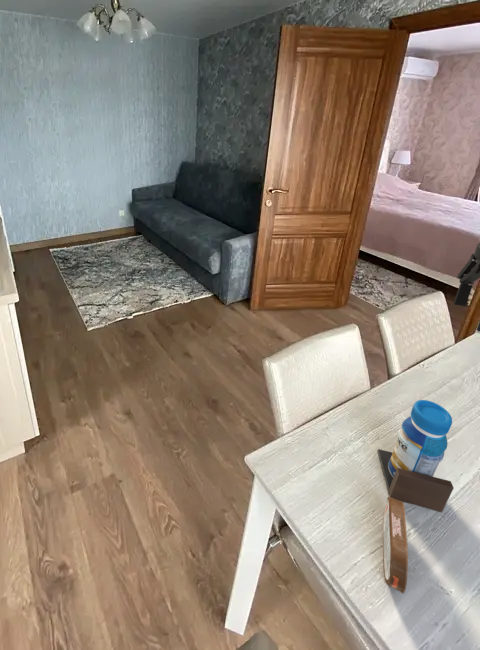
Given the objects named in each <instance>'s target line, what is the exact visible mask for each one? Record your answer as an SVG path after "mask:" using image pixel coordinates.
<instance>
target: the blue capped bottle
mask: <svg viewBox="0 0 480 650" xmlns="http://www.w3.org/2000/svg"><path fill="white" fill-rule="evenodd" d="M452 425H453V418H452V415H451V414H450V412H448V410H447V409H446V408H444V406H441V405H440V404H438V403H436V402H434V401H431V400H428V399H419V400H416V401H415V402H414V403H413V405H412V408H411V411H410V416H408V417H407V418H406V419H404V420H403V422H402V424H401V427H400V429H399V430H398V432H397V440H396V442H395V445H394V448H393V451H392V456H391V458H390V460H389V463H388V468H389V471H390V473H391V475H392V477H394V475H395V472H396V469H397V468H400V469H404V470H408V471H412V472H416V473H420V474H424V475H428V476H432V477H434V476H435V473H436V471H437V469H438V467H439V464H440V463H441V462H442V461H443V459H444V457H445V452H446V450H447V448H448V438H447V434H448V433H449V431H450V429H451V427H452Z"/></svg>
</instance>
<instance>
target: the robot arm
mask: <svg viewBox="0 0 480 650" xmlns="http://www.w3.org/2000/svg"><path fill="white" fill-rule="evenodd" d="M469 257H470V258H469V260H468V261H467V263H466V264H464V266H463V267H462V268H461V270H460V271H459V272H458V274H457V276H456V278H457V279H459V283H460V284H459V286H458V288H457V292H456V295H455V297H454V301H453V305H455V306H463V307H466V306H467V303H468V300H469V297H470V294H471V293H472V288H473V285H474V282H476V281H478V280H479V279H480V238H479V243H477V244H476V247H475V250H474V253H471V254H470V256H469ZM475 330H477V332H480V321H479V322H478V324H477V327H476V329H475Z"/></svg>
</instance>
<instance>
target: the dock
mask: <svg viewBox="0 0 480 650" xmlns="http://www.w3.org/2000/svg"><path fill="white" fill-rule="evenodd" d="M376 453H377V456H378V460H379V463H380V467H381V471H382V475H383V478H384V482H385V486H386V490H387V493H388V497H391V498H394V499H396V500H399V501H402V502H403V503H406V504H409V505H412V506H413V505H414V506H417V507H421V508H424V509H427V510H430V511H431V510H432V511H435V512H439V513H443V511H444V509H445V508H446V505H447V503H448V501H449V498H450V496H451V495H452V493H453V491H454V486H453V483H452V481H451V480H447V479H444V478H440V477H436V476H433V477H432V476H428V475H424V474H420V473H416V472H412V471H408V470H404V469H400V468H397V469H396V472H395V475H394V477H392V475H391V473H390V471H389V468H388V463H389V460H390V458H391V456H392V453H393V451H387V450H383V449H379V448H378V449H377V451H376Z"/></svg>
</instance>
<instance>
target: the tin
mask: <svg viewBox="0 0 480 650" xmlns="http://www.w3.org/2000/svg"><path fill="white" fill-rule="evenodd" d="M404 503H405V502H402V501H399V500H396V499H394V498H391V497H389V496H387V497H386V504H385V506H384V509H383V517H382V559H383V562H382V563H383V577H384V582H385V584H386V585H387V586H389V587H390V588H392V589H394V590H396V591H398V592H400V593H401V594H404V593H405V592H406V588H407V583H408V576H409V575H408V573H409V548H408V536H407V535H408V534H407V524H406V523H407V522H406V510H405V508H406V507H405V504H404Z"/></svg>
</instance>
